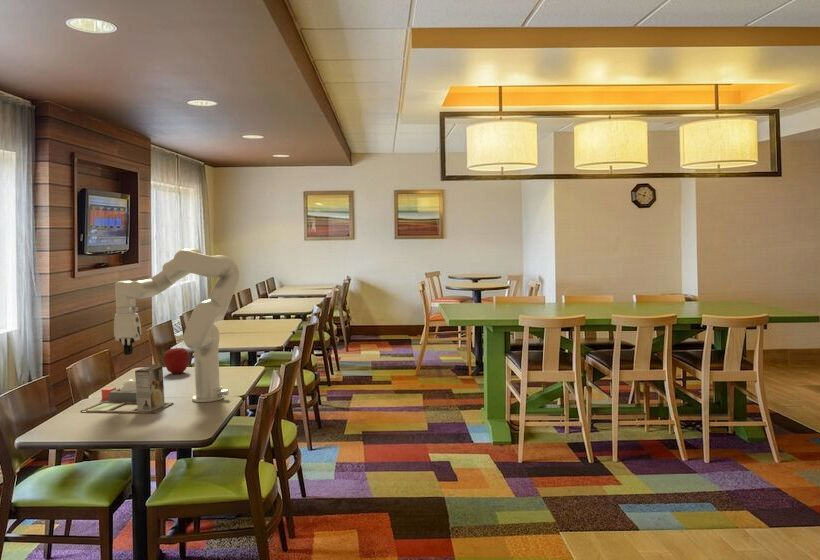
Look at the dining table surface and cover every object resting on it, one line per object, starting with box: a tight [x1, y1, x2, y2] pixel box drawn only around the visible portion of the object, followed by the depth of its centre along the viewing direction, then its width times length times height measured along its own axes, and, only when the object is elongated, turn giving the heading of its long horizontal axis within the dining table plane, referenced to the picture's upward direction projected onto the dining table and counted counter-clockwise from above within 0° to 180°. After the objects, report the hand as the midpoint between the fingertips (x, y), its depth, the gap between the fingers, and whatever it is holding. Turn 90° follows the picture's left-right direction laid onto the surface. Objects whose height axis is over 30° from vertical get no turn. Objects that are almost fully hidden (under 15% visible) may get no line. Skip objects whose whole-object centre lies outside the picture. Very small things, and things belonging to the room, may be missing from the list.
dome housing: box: [108, 387, 137, 402], centre depth 274 cm, size 12×12×4 cm
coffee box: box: [134, 365, 166, 411], centre depth 256 cm, size 9×6×16 cm
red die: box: [101, 386, 117, 400], centre depth 276 cm, size 4×4×4 cm
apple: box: [163, 347, 190, 375], centre depth 323 cm, size 12×12×13 cm
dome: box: [119, 378, 136, 392], centre depth 274 cm, size 8×8×6 cm
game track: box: [80, 401, 174, 415], centre depth 258 cm, size 31×14×1 cm, turn 81°
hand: (128, 354), depth 273 cm, fingers closed
